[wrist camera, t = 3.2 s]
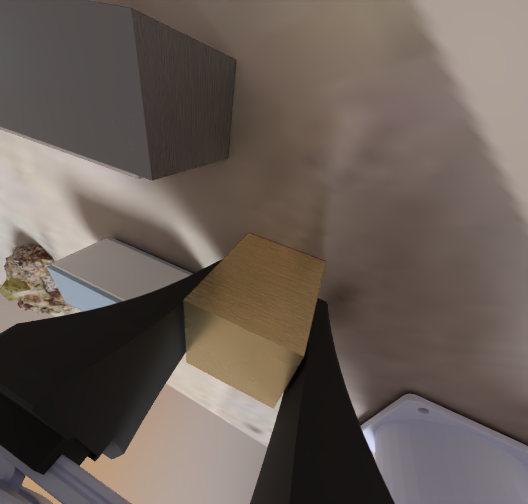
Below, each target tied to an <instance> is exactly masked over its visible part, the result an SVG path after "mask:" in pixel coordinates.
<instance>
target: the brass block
mask: <svg viewBox="0 0 528 504" xmlns="http://www.w3.org/2000/svg"><path fill="white" fill-rule="evenodd" d="M325 263H326V262H325V261H323V260H320V259H317V258H315V257H312V256H309V255H307V254H304V253H301V252H299V251H296V250H293V249H290V248H288V247H285V246H282V245H280V244H277V243H274V242H272V241H269V240H266V239H264V238H261V237H258V236H256V235H253V234H250V233H248V234H247V235H246V236H245V237H244V238H243V239H242V240H241V241H240V242H239V243H238V244H237V245H236V246H235V247H234V249H233V250H232V251H231V252H230V253H229V254H228V255H227V256H226V257H225V258H224V259H223V260H222V261H221V262H220V263H219V264H218V265H217V266H216V267H215V268H214V269H213V270H212V271H211V272H210V273H209V274H208V275H207V276H206V277H205V278H204V279H203V280H202V281H201V282H200V284H199V285H198V286H197V287H196V288H195V289H194V290H193V291H192V292H191V293H190V294H189V295H188V296H187V297H186V298H185V299H184V300H183V301H184V320H185V340H186V359H187V363H189V364H191V365H193V366H195V367H196V368H198V369H200V370H202V371H204V372H206V373H208V374H210V375H211V376H213V377H215V378H217V379H219V380H221V381H223V382H225V383H226V384H228V385H230V386H232V387H234V388H236V389H238V390H240V391H241V392H243V393H245V394H247V395H249V396H251V397H253V398H255V399H256V400H258V401H260V402H262V403H264V404H266V405H268V406H270V407H271V408H273V409H274V407H275V405H276V404H277V402H278V400H279V399H280V397H281V395H282V393H283V392H284V390H285V388H286V387H287V385H288V383H289V381H290V380H291V378H292V376H293V375H294V373H295V371H296V369H297V368H298V366H299V364H300V363H301V361H302V359H303V357H304V354H305V350H306V346H307V341H308V337H309V333H310V328H311V324H312V320H313V315H314V311H315V307H316V302H317V298H318V294H319V289H320V285H321V281H322V276H323V272H324V268H325Z"/></svg>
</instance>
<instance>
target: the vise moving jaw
mask: <svg viewBox="0 0 528 504" xmlns="http://www.w3.org/2000/svg"><path fill="white" fill-rule="evenodd" d="M46 268H47V269H48V271H49V273H50V275H51V277H52V279H53V280H54V282H55V284H56V286H57V288H58V290H59V291H60V293H61V295H62V297H63V299H64V301H65V302H66V303H68V304H70V305H71V306H73V307H75V308H77V309H79V310H81V311H88V310H92V309H96V308H100V307H104V306H108V305H111V304H115V303H118V302H122V301H125V300H129V299H132V298H135V297H138V296H141V295H144V294H147V293H150V292H153V291H155V290H158V289H160V288H163V287H165V286H168V285H170V284H172V283H175V282H177V281H179V280H181V279H184V278H186V277H188V276H190V275H192V274H193V273H191V272H189V271H187V270H184V269H182V268H180V267H177V266H175V265H173V264H170V263H168V262H166V261H164V260H161V259H159V258H157V257H154V256H152V255H150V254H148V253H145V252H143V251H141V250H138V249H136V248H134V247H132V246H129V245H127V244H125V243H122V242H120V241H118V240H116V239H113V238H111V237H109V238H105V239H103V240H101V241H99V242H97V243H94V244H92V245H90V246H88V247H86V248H84V249H82V250H79V251H77V252H75V253H73V254H71V255H69V256H67V257H64V258H62V259H60V260H58V261H56V262H54V263H52V264H51V265H49V266H47V267H46Z"/></svg>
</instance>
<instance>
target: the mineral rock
mask: <svg viewBox="0 0 528 504" xmlns="http://www.w3.org/2000/svg"><path fill="white" fill-rule="evenodd" d="M6 261H7V262H6V264H5V266H4V267H5V270H6V274H7V280H6V281H5V283H4V284H3V285H2V287H1V288H0V293H1V294H2V295H3V296H4V297H5V298H6V299H7V300H8V301H17V300H18V301H19V302H18V306H19V307H20V308H23V309H25V310H32V311H34V312H37V313H39V314H40V313H49V314H50V313H60V312H61V311H64V312H69V311H70V310H71V309H74V308H75V307H73V306H71V305H70V304H68V303H66V302H65V301H64V299H63V297H62V295H61V293H60V291H59V290H58V288H57V286H56V284H55V282H54V280H53V279H52V277H51V275H50V273H49V271H48V269H47V268H46V267H47V266H49V265H51V264H52V263H54V262H55V261H54V259H52V258H50V257H49V256H48V255H47V254H46V252H45V250H44V249H43V248H42V247H41V246H34V245H32V244H31V245H22V246H21V247H16V248H15V251H14V252H13V254H12V255H11V256H9V257H7V258H6Z"/></svg>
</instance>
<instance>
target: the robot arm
mask: <svg viewBox="0 0 528 504" xmlns="http://www.w3.org/2000/svg"><path fill="white" fill-rule="evenodd" d="M222 260H223V259H222ZM222 260H220V261H218V262H216V263H214V264H212V265H210V266H208V267H206V268H204V269H202V270H200V271H198V272H196V273H194V274H192V275H190V276H188V277H186V278H184V279H181V280H179V281H177V282H175V283H172V284H170V285H168V286H165V287H163V288H160V289H158V290H155V291H153V292H150V293H147V294H144V295H141V296H138V297H135V298H132V299H129V300H125V301H122V302H118V303H115V304H111V305H108V306H104V307H100V308H96V309H92V310H88V311H83V312H79V313H74V314H69V315H64V316H59V317H54V318H48V319H42V320H36V321H31V322H25V323H18V324H16V325H14V326H12V327H10V328H9V329H7V330H6V331H4V332H2V333H0V504H53V503H52V502H51V501H49V500H48V499H47V498H45V497H44V496H42V495H40V494H38V493H36V492H34V491H32V490H30V489H28V488H25V487H23V486H22V482H23V480H24V478H25V475H26V476H28V477H29V478H30V479H31V480H33V481H34V482H35V483H36V484H38V485H39V486H40V487H42V488H43V489H44V490H45V491H47V492H48V493H49V494H50V495H52V496H53V497H54V498H56V499H57V500H58V501H59V502H61V503H62V504H131V503H130V502H128V501H127V500H125V499H124V498H122V497H121V496H120V495H119V494H117V493H116V492H114V491H113V490H112V489H110V488H109V487H107V486H106V485H105V484H103V483H102V482H101V481H99V480H98V479H96V478H95V477H94V476H92V475H91V474H90V473H88V472H87V471H85V470H84V469H83V468H81V467H80V464H81V463H82V462H83V461H84V460H85V458H86V457H87V456H88V457H89V458H91V459H92V460H94V461H96V460H97V459H98V458H99V457H100V455H101V454H102V453H103V454H105V455H106V456H107V457H109V458H110V459H114V458H116V457H119V456H121V455H122V454H124V453H125V451H126V449H127V447H128V446H129V444H130V442H131V440H132V439H133V437H134V435H135V433H136V432H137V430H138V428H139V426H140V425H141V423H142V421H143V420H144V418H145V416H146V415H147V413H148V411H149V410H150V408H151V406H152V405H153V403H154V401H155V400H156V398H157V396H158V395H159V393H160V391H161V390H162V388H163V387H164V385H165V384H166V382H167V380H168V379H169V377H170V376H171V374H172V372H173V371H174V369H175V368H176V366H177V365H178V363H179V362H180V360H181V359H182V357H183V356H184V354H185V353H186V340H185V320H184V301H183V300H184V299H185V298H186V297H187V296H188V295H189V294H190V293H191V292H192V291H193V290H194V289H195V288H196V287H197V286H198V285H199V284H200V282H201V281H202V280H203V279H204V278H205V277H206V276H207V275H208V274H209V273H210V272H211V271H212V270H213V269H214V268H215V267H216V266H217V265H218V264H219V263H220V262H221V261H222ZM371 451H372V452H374V453H375V456H376V462H375V459H374V457H373V455H372V452H371ZM250 504H528V446H527V445H525V444H522V443H520V442H518V441H516V440H514V439H511V438H509V437H507V436H505V435H503V434H500V433H498V432H496V431H494V430H492V429H490V428H487V427H485V426H483V425H481V424H479V423H476V422H474V421H472V420H470V419H468V418H465V417H463V416H461V415H459V414H457V413H455V412H452V411H450V410H448V409H446V408H444V407H441V406H439V405H437V404H435V403H433V402H430V401H428V400H426V399H424V398H422V397H420V396H417V395H414V394H405V395H403V396H402V397H401V398H399V399H398V400H396V401H395V402H394V403H392V404H391V405H389V406H388V407H386V408H385V409H384V410H382V411H381V412H379V413H378V414H377V415H375V416H374V417H372V418H371V419H369V420H368V421H367V422H365V423H364V424H362V425H361V426H360V424H359V421H358V419H357V416H356V414H355V411H354V408H353V406H352V403H351V400H350V397H349V394H348V391H347V389H346V385H345V382H344V379H343V376H342V373H341V369H340V365H339V362H338V358H337V354H336V350H335V346H334V341H333V337H332V332H331V326H330V320H329V313H328V304H327V302H326V301H324V300H321V299H319V298H317V302H316V307H315V311H314V315H313V320H312V324H311V328H310V333H309V337H308V341H307V346H306V350H305V354H304V357H303V359H302V361H301V363H300V364H299V366H298V368H297V369H296V371H295V373H294V375H293V376H292V378H291V380H290V381H289V383H288V385H287V387H286V388H285V390H284V393H283V397H282V401H281V405H280V408H279V412H278V415H277V418H276V422H275V425H274V429H273V432H272V435H271V438H270V442H269V445H268V448H267V452H266V455H265V458H264V461H263V464H262V468H261V471H260V474H259V477H258V480H257V484H256V487H255V490H254V493H253V496H252V500H251V503H250Z"/></svg>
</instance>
